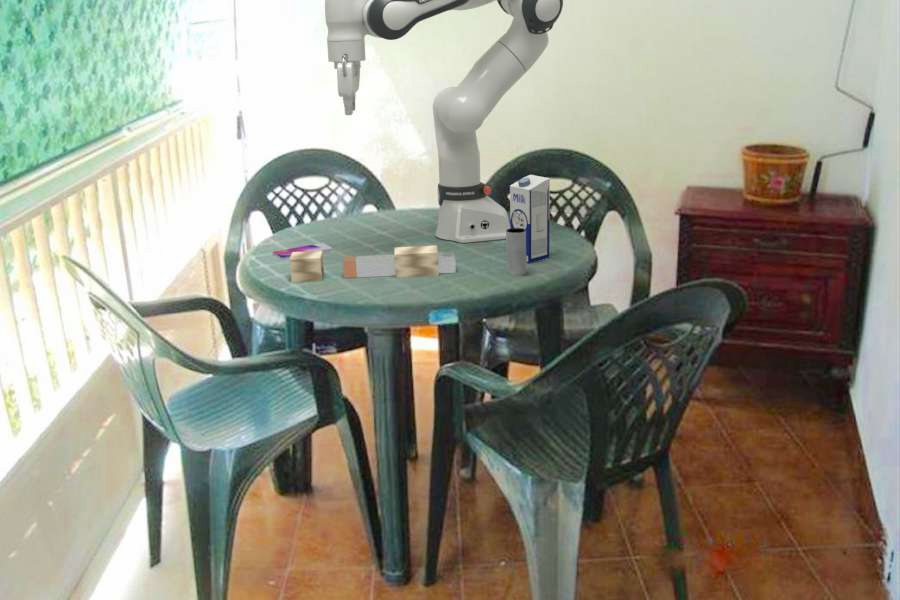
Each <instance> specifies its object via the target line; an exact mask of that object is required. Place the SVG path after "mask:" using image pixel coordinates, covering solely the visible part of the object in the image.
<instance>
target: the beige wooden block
mask: <svg viewBox="0 0 900 600" xmlns="http://www.w3.org/2000/svg"><path fill="white" fill-rule="evenodd" d="M288 260H289V262H288V263H289V272H290V281H291V283H307V282H311V283H312V282H322V281H323V274H325V267H324V252H322V251H307V252H292V255H291V257H290V258H289V259H288Z"/></svg>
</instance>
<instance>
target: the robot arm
mask: <svg viewBox="0 0 900 600" xmlns="http://www.w3.org/2000/svg"><path fill="white" fill-rule="evenodd" d="M496 1H497V3H498V5H499V7H500V9H502V11H503V12H505V14H507V15H510V16H511V17H513V18H512V21H511V23H510V26H509V28H508V30H507V31H506V32H505V33H504V34H503V35H502V36H500V37H499V39H497V41H496V42H494V43H493V44H492V45H491V46H490V48H488V49H487V50H486V51H485V52H484V53H483V54H482V55H481V56H480V57H479V58H478V60H476V61H475V63H474V64H473V66H472V68H471V69H470V70H469V72H468V73H466V75H465V77H464V78H463V79H462V80H461V82H460V83H459V84H458V85H457V86H450V87H445V88H443V89H442V90H441V91H439V93H437V94H436V96H434V97H435V98H434V100H433V104H432V113H433V123H434V133H435V141H436V147H437V154H438V156H437V157H438V176H439V180H438V181H439V182H438V184H437V202H438V206H439V208H438V219H437V224H436V225H437V226H436V231H435V234H434V235H435V237H437V238H439V239H442V240H445V241H446V240H447V241H453V242H457V243H462V244H464V243H465V244H467V243H475V242H484V241H485V242H486V241H496V240H506V230H507V229H510V216H509V214H508V213H507V210H506V209H505V208H504V206H502V205H500V203H498V202H496V201H495V200H494V199H493V198H491V197H489V195H490V194H491V193H492V190H491V187H490V186H489V185H487V184H486V183H485V182H482V181H481V159H480V158H481V154H480V150H479V145H478V139H477V131H478V130H479V129H480V128H481V127H482V125H483V123H484V121H485V120H486V118H487V117H488V116H489V115H490V113H491V112H492V111H494V108H496V106H497V104H498V103H499V102H500V101H501V100H502V98H503V96H504V95H506V93H507V92H508V91H509V90H510V89H511V88H512V87H514V85H515V84H516V83H518V82H519V80H520V79H522V77H523V76H524V75H525V74H526V73H527V72H528V71H529V70H530V69H531V68H532V67H533V66H534V65H535V63H536V62H537V61H538V60H539V59H540V57H541V55H543V54H544V51H545V50H546V48H547V47H548V45H549V34H548V32H549V31H551V30H552V29H553V27H554V24H555V23H556V22H557V20H558V19H559V17H560V16H561V13H562V11H563V6H564V0H324V16H325V17H324V19H325V24H326V26H327V38H326V43H327V45H326V46H327V47H326V48H327V60H328V62H331V63H333V68H334V70H336V78H337V79H336V81H337V82H336V83H337V93H338V97H341V98H342V102H343V106H344V115H345V116H352V115H353V114H354V111H356V97H357V95H356V94H357V92H358V90H359V88H360V80H361V79H360V77H361V74H360V73H361V67H362V65H361V62H364V61H366V60H367V59H366V44H365V43H366V42H365V41H366V40H365V37H366V36H367V35H368V36H371V37H373V38H379V39H384V40H389V41H394V40H395V41H396V40H399V39H400V38H402V37H404V36H405V35H406V34H408V33H409V31H410V30H412V29H413V28H414V26H416V25H417V24H418V23H419V22H422V21H425V20H427V19H429V18H433V17H435V16H438V15H440V14H443V13H444V12H448V11H457V12H458V11H466V10H467V11H468V10H471V9H477V8H480V7H483V6H486V5H488V4H491V3H493V2H496Z"/></svg>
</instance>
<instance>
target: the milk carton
mask: <svg viewBox="0 0 900 600" xmlns="http://www.w3.org/2000/svg"><path fill="white" fill-rule="evenodd" d="M550 181H551V178H550V177H546V176H545V177H544V176H539V175H535V174H529V175H527V176H524V177H522V178H521V179H518V180H517V181H515V182H514V183H512V184H511V185H509V205H510V206H509V212H510V213H509V223H510V228H523V229H525V230H526V264H532V262H533V263H536V262H535V261H537V262H539V260H540V261H544V260H547V259H546V258H548V259H550V196H551V195H550V192H551V191H550V190H551V189H550V185H551V184H550ZM543 259H544V260H543Z"/></svg>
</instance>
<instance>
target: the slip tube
mask: <svg viewBox="0 0 900 600" xmlns="http://www.w3.org/2000/svg"><path fill="white" fill-rule="evenodd" d="M342 266H343V268H342V270H343V278H344V279H350V278H351V279H352V278H353V279H356V278H357V279H358V278H373V277H375V278H376V277H392V276H393V277H394V276H395V277H396V273H395V255H394V254H377V255H358V256H354V255H353V256H352V255H351V256H343V259H342ZM438 267H439V275H440V274H456V269H457V268H456V254H455V251H439V252H438Z"/></svg>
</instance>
